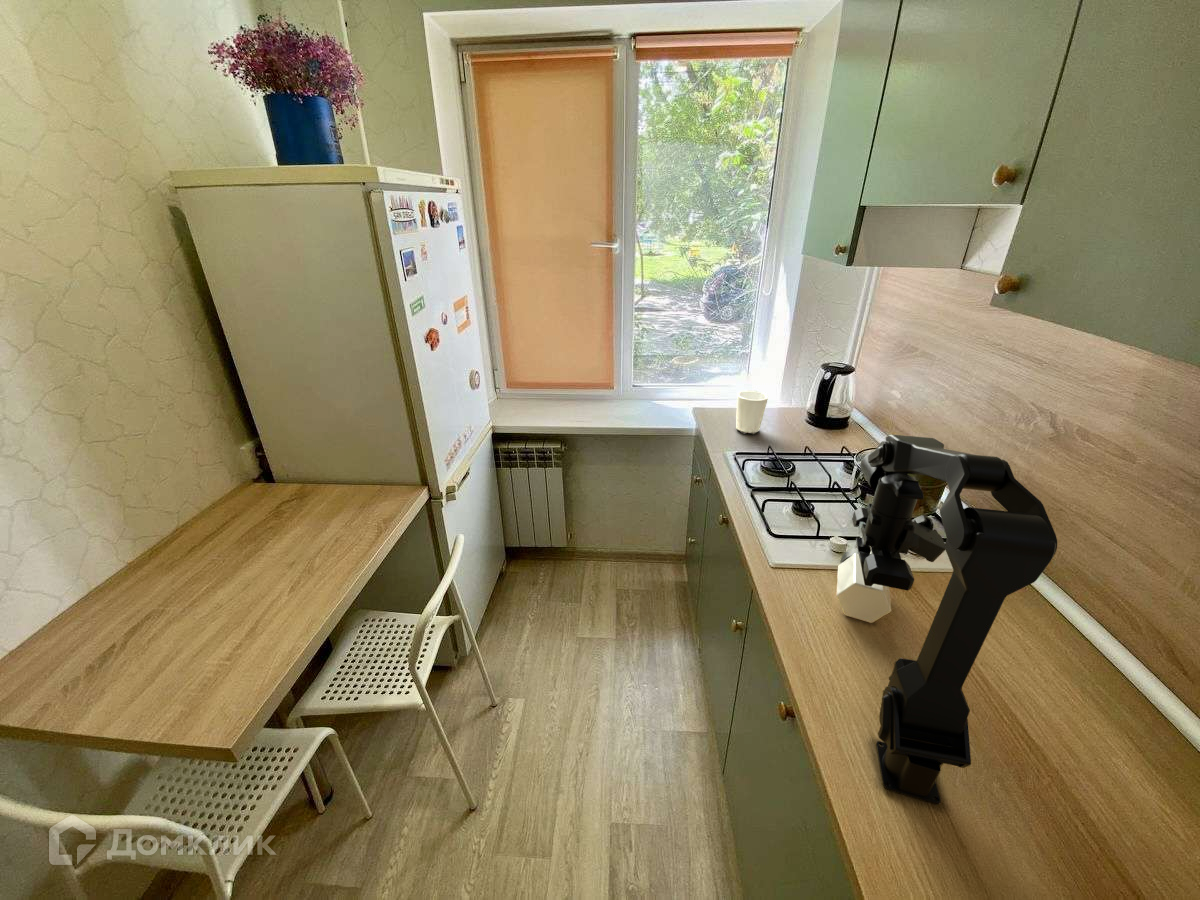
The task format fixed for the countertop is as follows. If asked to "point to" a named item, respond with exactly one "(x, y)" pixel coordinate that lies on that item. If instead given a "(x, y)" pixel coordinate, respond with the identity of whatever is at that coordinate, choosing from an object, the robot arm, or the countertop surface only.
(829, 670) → the countertop surface
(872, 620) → the jar
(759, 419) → the cup
